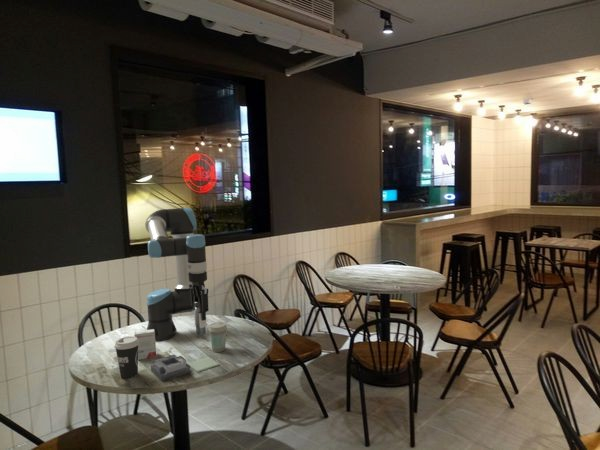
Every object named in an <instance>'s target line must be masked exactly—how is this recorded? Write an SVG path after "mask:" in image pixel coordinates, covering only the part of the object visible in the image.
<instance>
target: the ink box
mask: <svg viewBox="0 0 600 450" xmlns="http://www.w3.org/2000/svg"><path fill="white" fill-rule="evenodd" d="M133 337H136V338H137V339H138V340H139V345H138V361H140V360H145V359H151V358H152V359H153V358H157V344H156V342H157V341H155V330H154V329H151V330H147V329H145V330H138V331H137V330H136V331H134V336H133Z"/></svg>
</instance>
